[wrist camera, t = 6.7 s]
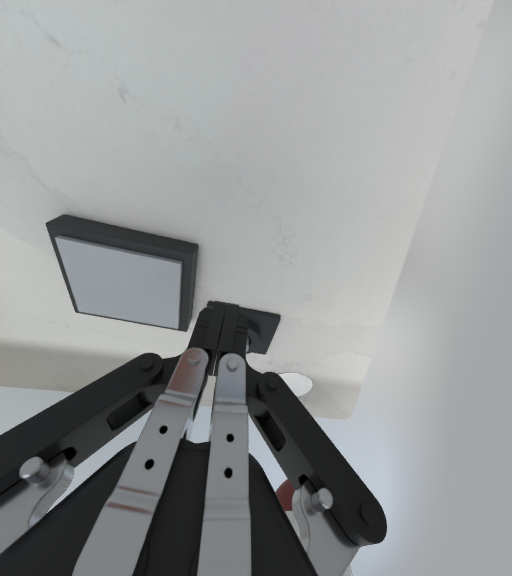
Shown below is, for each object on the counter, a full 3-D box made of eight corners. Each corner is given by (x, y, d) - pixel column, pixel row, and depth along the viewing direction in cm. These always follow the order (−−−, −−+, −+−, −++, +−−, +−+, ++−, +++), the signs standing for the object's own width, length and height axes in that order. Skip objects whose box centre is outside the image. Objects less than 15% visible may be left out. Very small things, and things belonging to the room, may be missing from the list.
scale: (198, 244, 25) (191, 258, 22) (191, 319, 32) (185, 335, 30) (63, 214, 23) (39, 225, 21) (87, 299, 30) (71, 315, 28)
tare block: (280, 314, 31) (281, 328, 29) (265, 350, 36) (265, 363, 34) (208, 300, 30) (204, 313, 28) (202, 339, 35) (199, 352, 33)
